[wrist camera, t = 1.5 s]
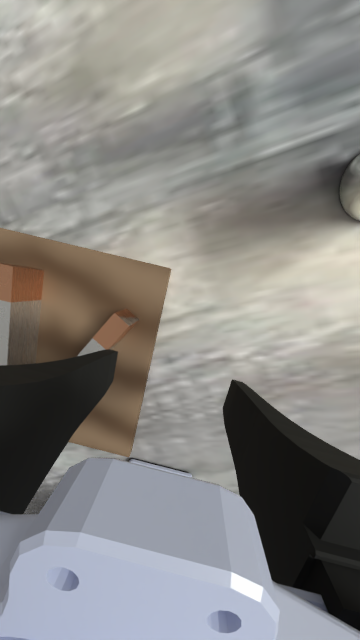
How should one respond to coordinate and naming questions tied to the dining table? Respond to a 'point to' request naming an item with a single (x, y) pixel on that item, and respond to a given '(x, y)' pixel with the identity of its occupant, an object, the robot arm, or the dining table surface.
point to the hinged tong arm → (111, 332)
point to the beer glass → (351, 189)
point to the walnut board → (95, 323)
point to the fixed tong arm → (19, 313)
